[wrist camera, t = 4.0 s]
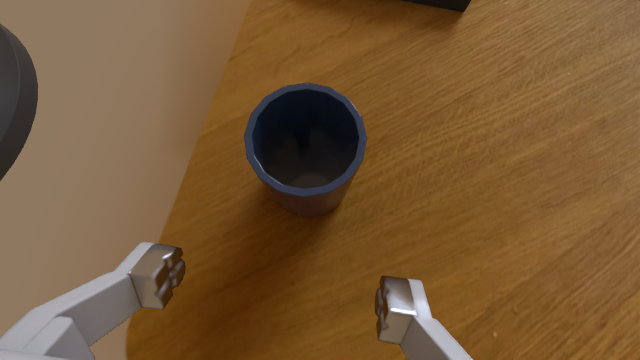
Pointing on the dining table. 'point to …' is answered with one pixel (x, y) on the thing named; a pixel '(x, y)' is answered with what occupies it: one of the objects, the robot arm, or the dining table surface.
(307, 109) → the cup
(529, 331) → the dining table surface
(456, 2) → the scale
